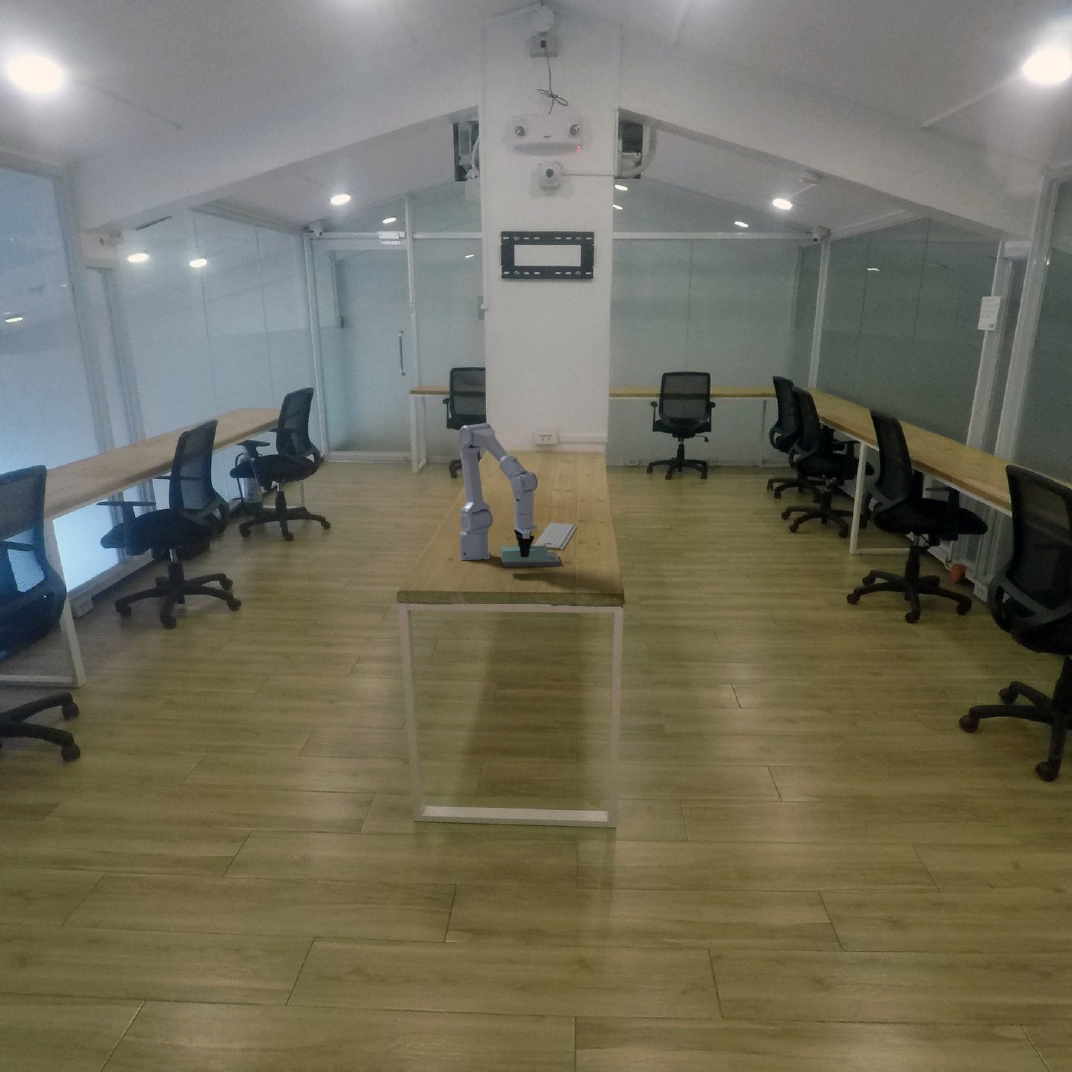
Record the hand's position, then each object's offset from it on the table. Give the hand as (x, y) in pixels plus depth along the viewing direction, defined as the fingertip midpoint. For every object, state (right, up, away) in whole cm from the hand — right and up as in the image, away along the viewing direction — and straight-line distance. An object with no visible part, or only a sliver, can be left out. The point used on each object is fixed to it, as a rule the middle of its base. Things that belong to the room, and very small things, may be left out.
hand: (523, 554), depth 234 cm
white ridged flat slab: (+12, +5, +39) cm, 41 cm away
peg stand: (+2, -3, +12) cm, 12 cm away
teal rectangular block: (0, -1, 0) cm, 2 cm away
